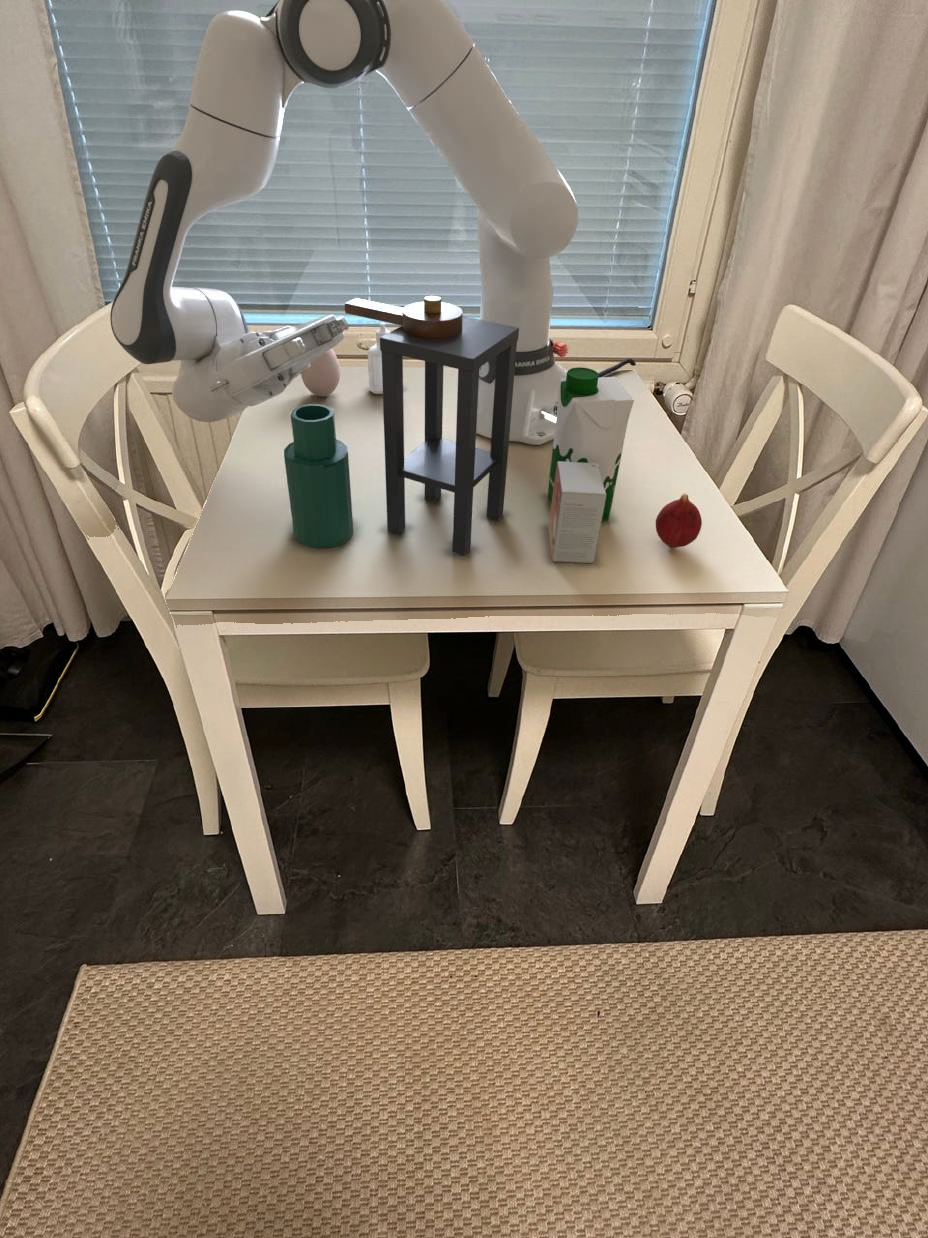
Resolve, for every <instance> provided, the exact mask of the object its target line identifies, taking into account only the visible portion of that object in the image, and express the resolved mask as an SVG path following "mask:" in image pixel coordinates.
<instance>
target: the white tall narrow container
mask: <svg viewBox="0 0 928 1238" xmlns="http://www.w3.org/2000/svg"><path fill="white" fill-rule="evenodd" d="M390 332H391V331H390V330H389V329H387V327H386V322H380V326H379V329H377V330H376V331H375V336H376V337H375V339H376V343H375V344H373V345H372V346H371V347H369V348H368V350H367V369H368V370H367V372H368V389H369V391H370V392H371V393H373V394H375V395H383V384H382V354H381V350H380V337H382V336H384V335H386V334H388V333H390Z"/></svg>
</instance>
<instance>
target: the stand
mask: <svg viewBox="0 0 928 1238" xmlns="http://www.w3.org/2000/svg"><path fill="white" fill-rule="evenodd" d="M518 335H519V328H517V327H512V326H507V325H503V324H498V323H493V322H488V321H484V320H480V318H479V319H478V318H474V317H469V316H464V315H463V320H462V331H461V333H459V334H458V335H456V336H453V337H449V338H442V339H427V338H420V337H415V336H412V335H410V334H407V333H406V332H405V331H404V330H403V326H401V325H400V326H399V327H397V328H396V329H393V330H391V331H390V333H388V334H386V335H384V336H382V337H380V350H381V354H382V384H383V394H382V404H383V405H382V409H383V410H382V411H383V438H384V439H383V440H384V441H383V442H384V469H385V472H384V473H385V498H386V525H387V527H386V528H387V530H386V531H388V532H389V533H393V534H396V535H400V534H401V533H402V532H403V531H404V530H405V529H406V486H405V483H406V482H405V481H406V479H407V480H410V481H414V482H417V483H421V484H424V497H423V498H424V499H425V500H429V501H431V502H436V501H437V500H439V499H440V498H441V497H442V490H443V491H448V492H450V493H453V520H452V521H453V522H452V523H453V524H452V550H451V551H452V553H453V554H456V555H460V556H463V557H464V556H465V557H466V555H467V554H468V553H469V552H470V551H471V544H472V524H473V506H474V504H473V503H474V488H475V487H476V486H477V485H478V484H479V483H480V482H481V481H482V480H483V479H484V478H485V477H486V476H487V475H488V485H487V499H486V500H487V501H486V516H485V517H486V518H487V519H490V520H493V521H497V522H498V521H499V520H500V519H501V518H502V517H503V516H504V508H505V495H506V486H507V485H506V483H507V470H508V459H509V445H510V441H509V435H510V422H511V410H512V398H513V385H514V373H515V360H516V348H517V341H518ZM495 356H497V358H496V373H495V389H494V405H493V420H492V436H491V438H490V450H486V449H482V448H479V447H476V443H477V433H476V427H477V407H478V386H479V368H480V367H481V366H482V365H484V364H485V363H487V362H488V361H490V360H491V359H492V358H494V357H495ZM404 357H405V358H406V357H407V358H411V359H414V360H418V361H423V362H424V441H423V442H422V443H421V444H420V445H418V447H416V448H415V449H413V450H412V451H411V452H410V453H408V454H407V455H406V456H405V426H404V425H405V422H404V421H405V417H404V362H403V360H404ZM444 367H449V368H451V369H455V370H457V395H456V396H457V397H456V399H457V400H456V423H455V424H456V427H455V429H456V430H455V441H453V440H450V439H446V438H443V418H444V417H443V412H444V411H443V409H444Z"/></svg>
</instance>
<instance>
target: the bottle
mask: <svg viewBox="0 0 928 1238" xmlns="http://www.w3.org/2000/svg"><path fill="white" fill-rule="evenodd" d="M290 420H291V421H290V422H291V429H292V439H293V441H292V442H290V443H288V444H287V446H286V447H285V448H284V449H283V457H284V465H285V473H286V482H287V489H288V498H289V505H290V513H291V520H292V529H293V535H294V537H295V539H296V541H297V542H299V543H300V544H301V545H303V546H306V547H309V548H312V549H330V548H334V547H338V546H341V545H343V544H344V543H346V542H348V541H349V540H350V539H351V538H352V536H353V535H354V521H353V519H354V518H353V507H352V506H353V503H352V491H351V489H352V488H351V477H350V459H349V448H348V446H347V445H346V444H345V443H344V442H343V440H342V441H341V440H339V439H337V436H336V422H335V421H336V420H335V410H334V409H332V408H331V407H330V406H327V405H324V404H321V403H307V404H303V405H299V406H297V407H295V408H293V409H292V410H291V413H290Z"/></svg>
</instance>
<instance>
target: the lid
mask: <svg viewBox="0 0 928 1238" xmlns="http://www.w3.org/2000/svg"><path fill="white" fill-rule="evenodd" d="M344 313H345V314H346V315H347V314H348V315H352V316H357V317H361V318H365V319H370V320H373V321H379V322H382V323H388V324H392V325H397V326H400V327H401V326H403V330H404V331H405V332H406V333H407V334H410V335H412V336H415V337H420V338H427V339H442V338H449V337H453V336H456V335H458V334H459V333H461V331H462V320H463V316H464V310H463V309H462V308H461V307H459V306H457V305H455V304H452V303H448V302H443V301H442V298H441V297H440V296H437V295H427V296H425V297H424V298H423V301H419V302H418V301H417V302H413V303H410V304H406V305H405V306H404V307H401V306H397V305H390V304H387V303H381V302H377V301H372V300H367V299H362V298H359V297H355V298H352V299H350V300H349V301H346V302H344Z"/></svg>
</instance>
